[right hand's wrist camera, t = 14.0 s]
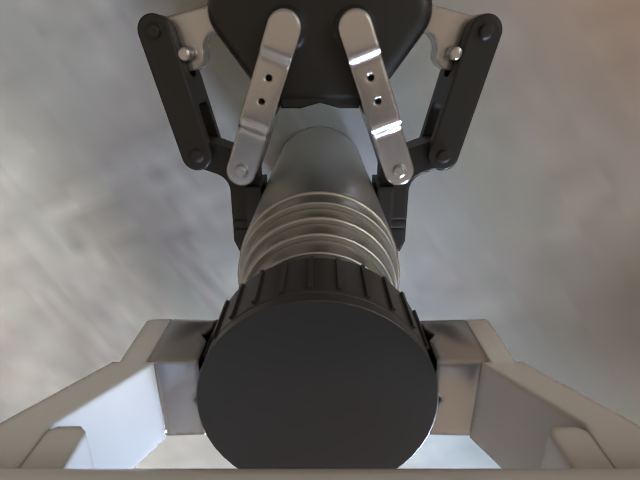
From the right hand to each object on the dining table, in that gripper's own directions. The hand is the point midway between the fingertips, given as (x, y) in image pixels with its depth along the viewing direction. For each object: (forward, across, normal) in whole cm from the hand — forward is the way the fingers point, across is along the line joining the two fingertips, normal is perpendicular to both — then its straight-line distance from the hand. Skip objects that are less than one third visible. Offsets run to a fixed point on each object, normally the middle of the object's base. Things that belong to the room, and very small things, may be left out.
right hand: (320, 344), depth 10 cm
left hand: (+11, 0, -3) cm, 11 cm away
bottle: (+17, 0, 0) cm, 17 cm away
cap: (-2, 0, 0) cm, 2 cm away
